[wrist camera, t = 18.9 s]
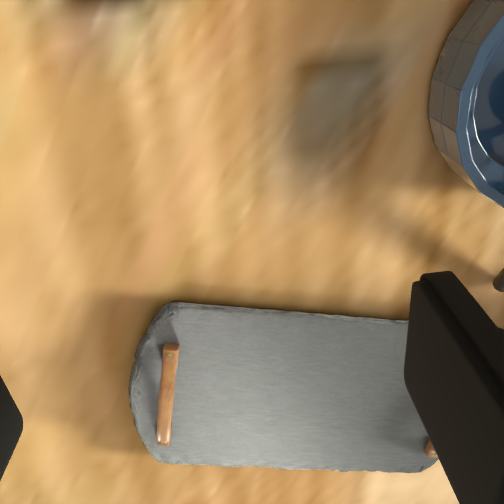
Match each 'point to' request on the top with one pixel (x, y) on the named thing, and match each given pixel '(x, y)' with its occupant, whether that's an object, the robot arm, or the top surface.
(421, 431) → the serving tray
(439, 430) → the robot arm
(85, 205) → the top surface
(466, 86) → the bowl
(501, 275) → the ladle
